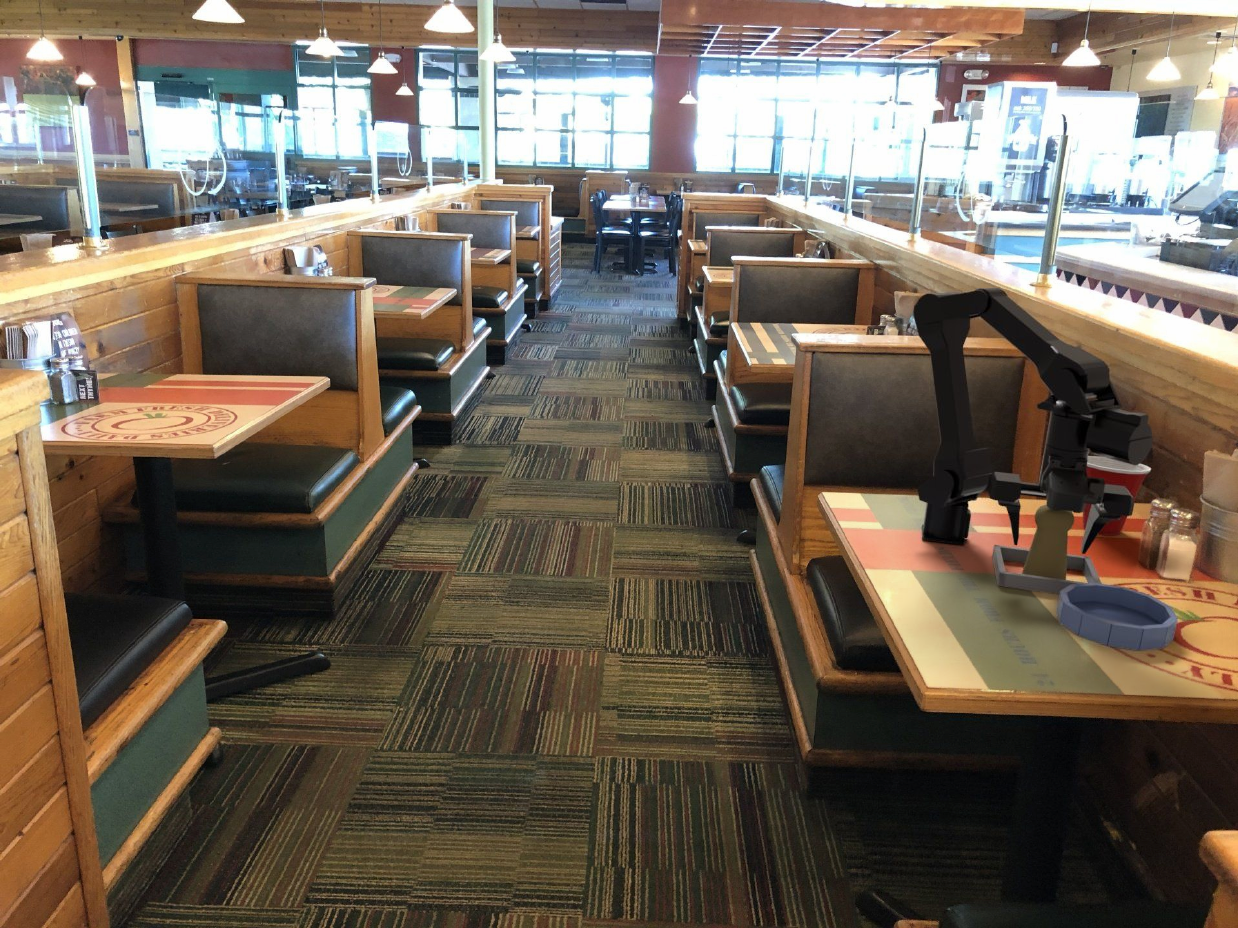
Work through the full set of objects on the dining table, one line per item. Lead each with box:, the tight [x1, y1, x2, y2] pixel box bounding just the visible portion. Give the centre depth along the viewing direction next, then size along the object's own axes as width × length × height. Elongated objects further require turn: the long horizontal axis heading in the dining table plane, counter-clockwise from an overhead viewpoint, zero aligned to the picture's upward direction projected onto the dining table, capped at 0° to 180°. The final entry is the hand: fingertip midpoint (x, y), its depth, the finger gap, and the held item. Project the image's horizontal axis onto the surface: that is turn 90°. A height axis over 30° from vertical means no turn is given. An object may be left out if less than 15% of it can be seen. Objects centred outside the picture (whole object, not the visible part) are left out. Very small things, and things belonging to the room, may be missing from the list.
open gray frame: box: [991, 544, 1103, 595], centre depth 144 cm, size 14×12×2 cm
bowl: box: [1055, 582, 1179, 652], centre depth 129 cm, size 14×14×3 cm
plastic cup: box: [1082, 455, 1152, 536], centre depth 163 cm, size 11×11×12 cm
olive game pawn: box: [1021, 504, 1075, 580], centre depth 143 cm, size 6×6×11 cm
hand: (1048, 548), depth 143 cm, fingers open, 9 cm apart
